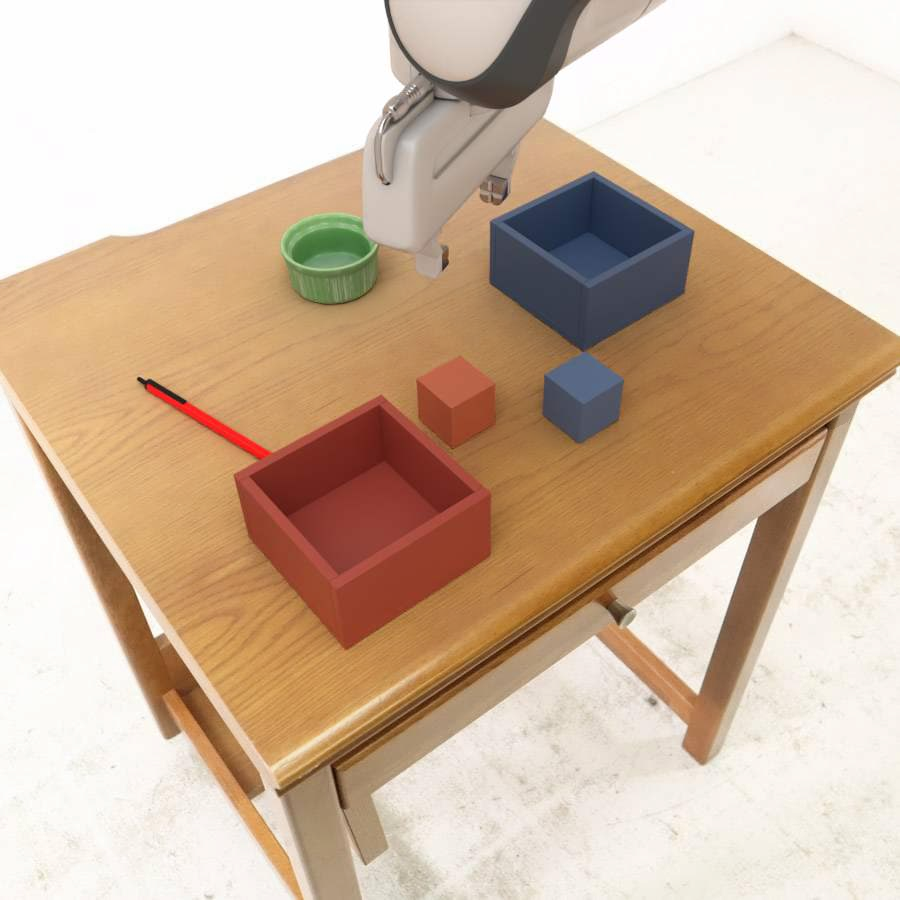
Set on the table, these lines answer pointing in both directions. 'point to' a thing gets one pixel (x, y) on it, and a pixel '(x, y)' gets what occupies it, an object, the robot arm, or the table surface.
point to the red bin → (365, 518)
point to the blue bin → (589, 258)
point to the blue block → (582, 396)
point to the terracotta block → (456, 401)
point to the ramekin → (330, 257)
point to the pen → (204, 418)
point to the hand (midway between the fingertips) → (464, 233)
